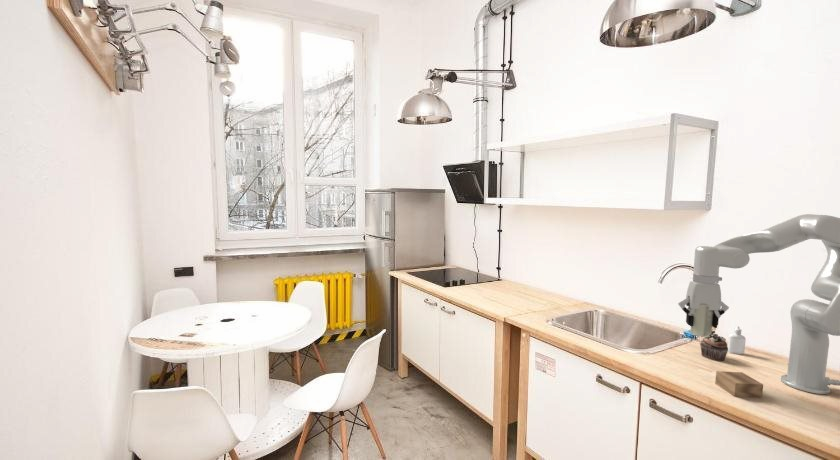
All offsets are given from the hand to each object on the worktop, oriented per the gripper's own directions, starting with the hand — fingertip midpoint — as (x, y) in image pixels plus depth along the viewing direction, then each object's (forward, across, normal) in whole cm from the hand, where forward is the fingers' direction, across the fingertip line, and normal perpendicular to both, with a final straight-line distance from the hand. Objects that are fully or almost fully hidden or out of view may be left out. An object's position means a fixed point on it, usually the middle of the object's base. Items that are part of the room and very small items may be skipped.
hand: (701, 325), depth 142 cm
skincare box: (+4, 0, 0) cm, 4 cm away
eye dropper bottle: (+20, -29, -30) cm, 46 cm away
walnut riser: (+20, -8, +9) cm, 23 cm away
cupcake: (+20, -16, -22) cm, 33 cm away
